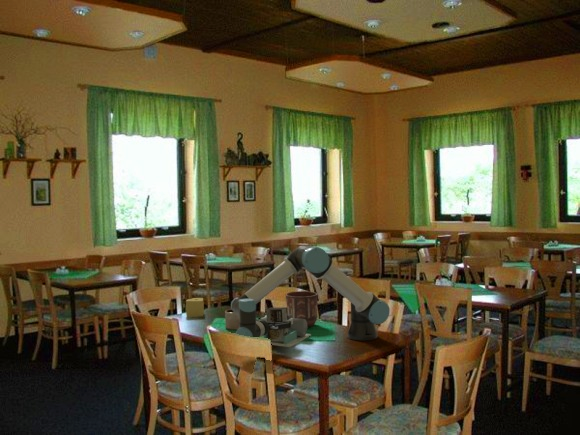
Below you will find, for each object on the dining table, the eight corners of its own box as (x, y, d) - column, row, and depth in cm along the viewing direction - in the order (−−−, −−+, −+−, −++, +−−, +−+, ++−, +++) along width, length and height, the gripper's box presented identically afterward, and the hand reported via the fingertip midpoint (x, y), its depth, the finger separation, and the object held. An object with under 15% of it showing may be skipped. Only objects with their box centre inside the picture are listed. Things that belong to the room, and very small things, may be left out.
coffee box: (289, 339, 308) (287, 307, 308) (284, 342, 302) (282, 309, 302) (273, 338, 311) (271, 307, 311) (267, 341, 306) (265, 309, 306)
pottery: (307, 320, 356) (306, 289, 354) (324, 326, 340) (323, 294, 339) (280, 324, 347) (279, 293, 346) (296, 331, 332) (295, 298, 330)
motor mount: (310, 335, 320) (310, 314, 319) (289, 347, 299) (289, 323, 298) (278, 332, 329) (278, 311, 328) (256, 343, 307) (255, 320, 307)
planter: (241, 330, 335) (241, 313, 334) (222, 329, 337) (222, 312, 336) (247, 325, 345) (246, 308, 345) (228, 325, 348) (228, 308, 347)
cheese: (186, 313, 380) (186, 297, 379) (204, 313, 381) (204, 297, 381) (185, 317, 370) (185, 301, 369) (204, 316, 371) (203, 300, 370)
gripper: (236, 334, 295) (258, 324, 314) (282, 339, 284) (302, 329, 303) (236, 318, 295) (258, 310, 314) (281, 323, 283) (302, 314, 302)
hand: (280, 319), depth 308 cm, fingers open, 13 cm apart
